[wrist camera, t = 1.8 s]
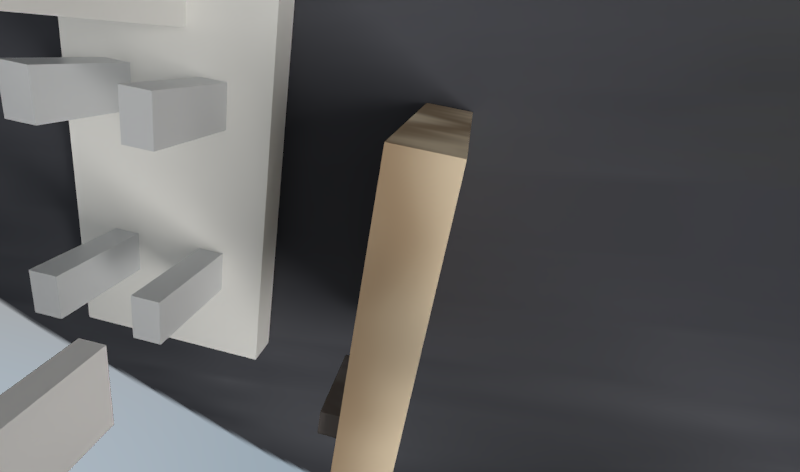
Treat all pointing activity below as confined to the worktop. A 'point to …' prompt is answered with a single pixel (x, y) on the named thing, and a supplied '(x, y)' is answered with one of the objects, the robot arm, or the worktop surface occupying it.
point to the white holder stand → (165, 161)
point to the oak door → (397, 287)
